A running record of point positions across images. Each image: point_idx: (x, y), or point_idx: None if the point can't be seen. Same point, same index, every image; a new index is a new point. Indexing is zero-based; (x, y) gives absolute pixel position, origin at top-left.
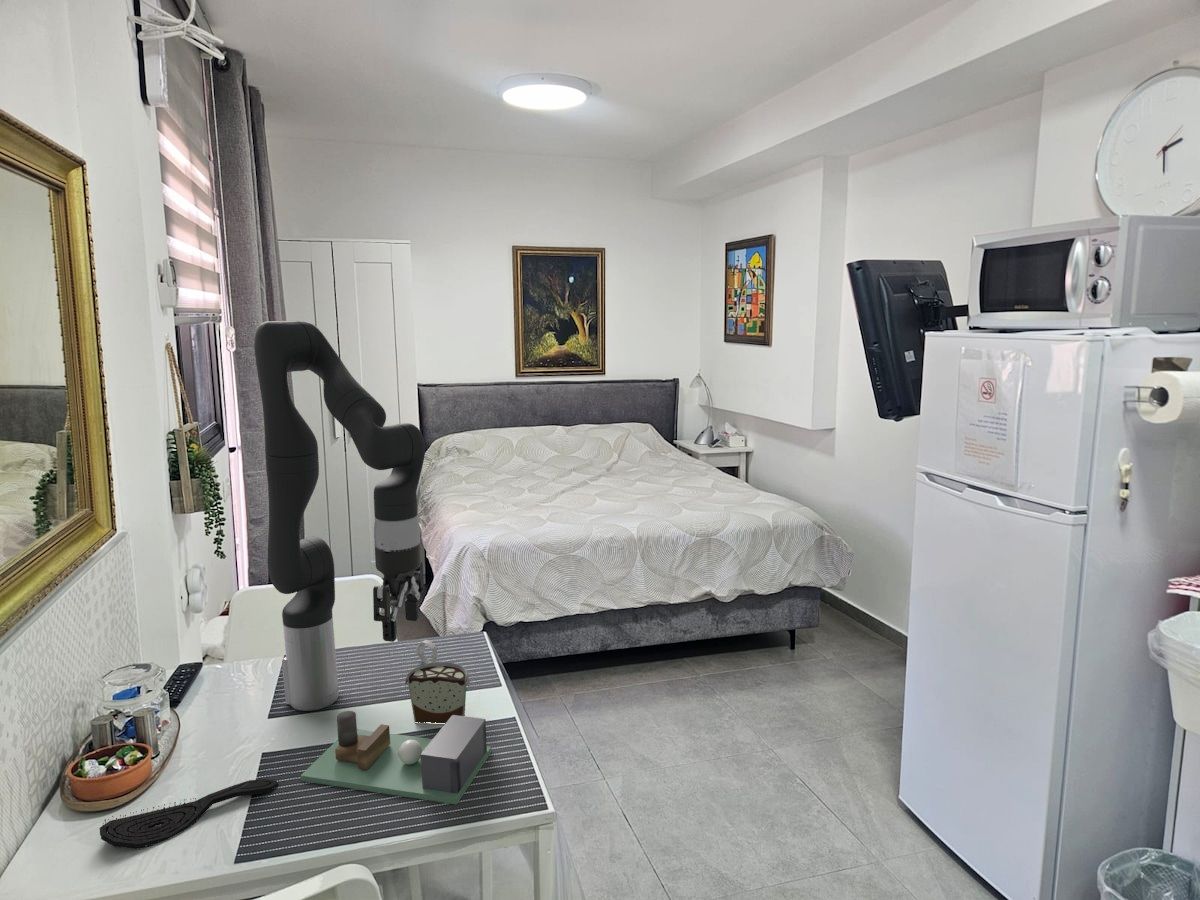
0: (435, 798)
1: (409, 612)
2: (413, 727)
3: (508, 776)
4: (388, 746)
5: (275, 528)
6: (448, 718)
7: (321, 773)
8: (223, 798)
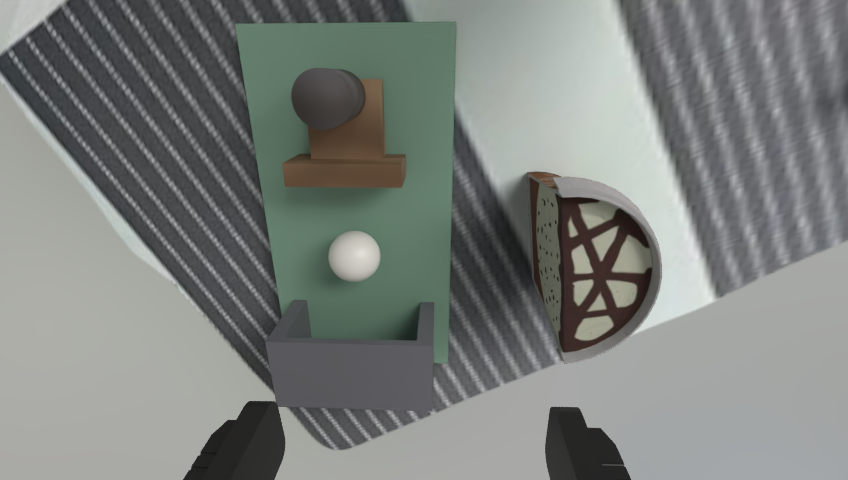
0: None
1: (564, 469)
2: (508, 177)
3: None
4: None
5: None
6: (534, 255)
7: (260, 72)
8: None
